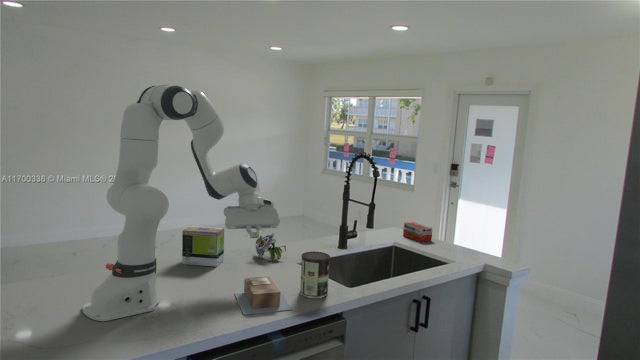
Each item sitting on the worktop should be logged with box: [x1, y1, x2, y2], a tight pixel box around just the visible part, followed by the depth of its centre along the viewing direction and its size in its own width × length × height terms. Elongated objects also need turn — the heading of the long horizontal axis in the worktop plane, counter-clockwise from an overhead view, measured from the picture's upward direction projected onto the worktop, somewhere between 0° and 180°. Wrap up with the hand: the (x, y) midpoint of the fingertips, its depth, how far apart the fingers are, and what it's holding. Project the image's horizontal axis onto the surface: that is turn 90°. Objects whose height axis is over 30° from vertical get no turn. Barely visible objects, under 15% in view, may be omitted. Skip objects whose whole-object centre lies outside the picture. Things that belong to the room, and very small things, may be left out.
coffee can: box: [299, 251, 331, 299], centre depth 157 cm, size 10×10×14 cm
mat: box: [234, 291, 293, 316], centre depth 147 cm, size 17×16×1 cm
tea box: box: [181, 225, 225, 267], centre depth 184 cm, size 15×10×15 cm, turn 84°
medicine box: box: [402, 221, 433, 243], centre depth 246 cm, size 15×8×8 cm, turn 32°
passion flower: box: [255, 233, 287, 263], centre depth 196 cm, size 13×12×14 cm
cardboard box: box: [243, 276, 281, 309], centre depth 149 cm, size 9×5×15 cm
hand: (254, 237), depth 160 cm, fingers closed
